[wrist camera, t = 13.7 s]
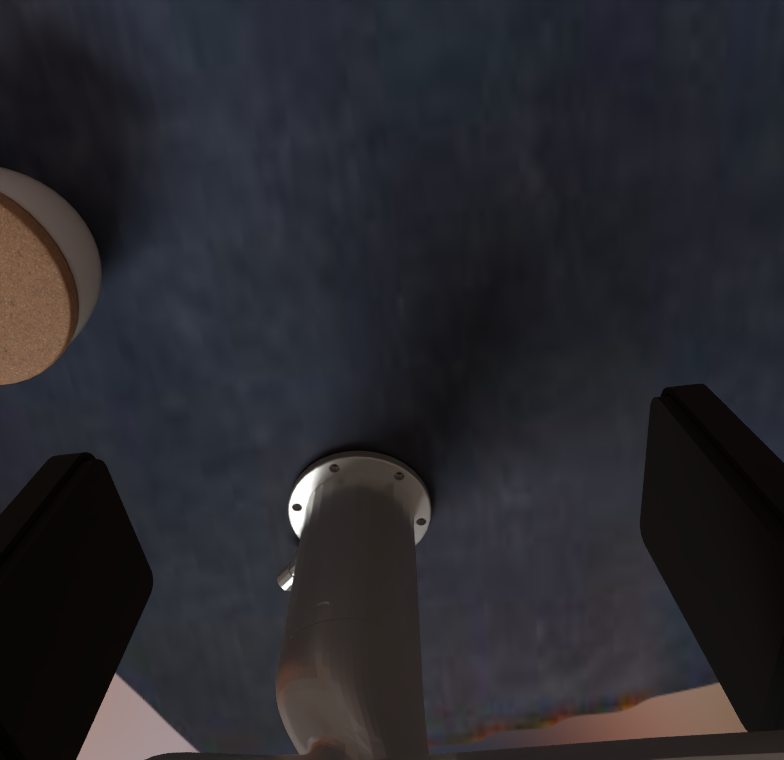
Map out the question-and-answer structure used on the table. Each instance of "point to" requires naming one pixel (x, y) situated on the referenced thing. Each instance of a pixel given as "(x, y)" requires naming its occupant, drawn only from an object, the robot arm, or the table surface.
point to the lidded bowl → (41, 276)
